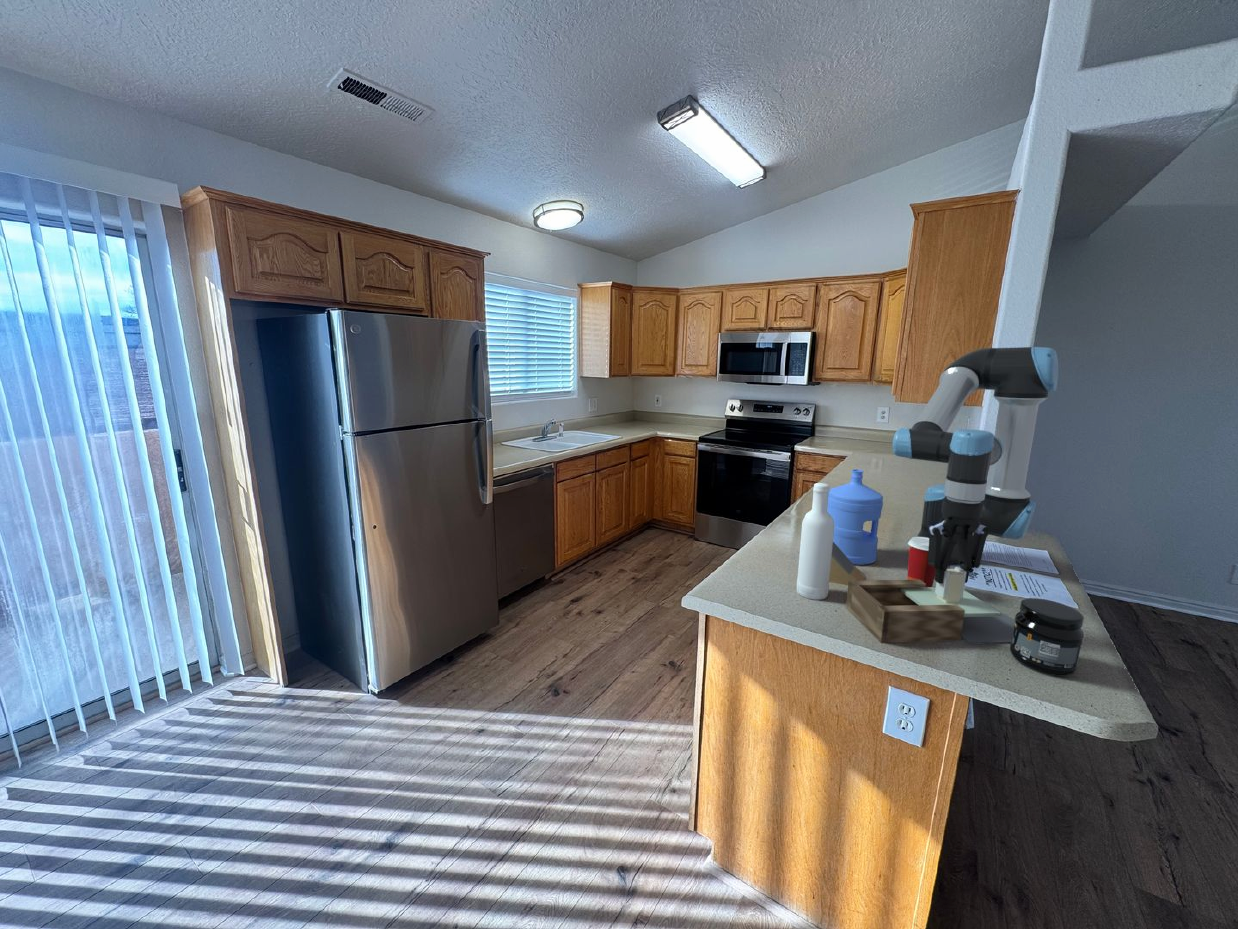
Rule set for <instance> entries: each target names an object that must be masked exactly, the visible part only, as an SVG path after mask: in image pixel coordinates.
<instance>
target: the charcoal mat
mask: <svg viewBox="0 0 1238 929" xmlns="http://www.w3.org/2000/svg"><path fill="white" fill-rule="evenodd" d="M983 602H984V603H986V604H988V605H989V606H991V607H992V608H994V609H996V610H997V611H999V612H1000V613H1001V616H991V617H964V619H963V625H962V631H961V638H960V640H963V641H964V642H966V644H969V645H976V644H977V645H982V644H984V645H986V644H991V645H992V644H1011V641H1012V636H1013V630H1014V625H1015V618H1014V619H1013V618H1012V617H1011V616H1009V615H1008V614H1006V613H1003V612H1002V611H1001V610H999V609H997V608H995V607H994V606H992V605H991V604H989V603H987V602H986V601H983Z"/></svg>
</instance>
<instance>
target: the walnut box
mask: <svg viewBox="0 0 1238 929" xmlns="http://www.w3.org/2000/svg"><path fill="white" fill-rule="evenodd" d="M925 586H926V584H925V583H924V582H922V581H921V580H907V579H881V580H880V579H872V580H871V579H869V580H868V579H867V580H860V581H849V582H848V585H847V591H846V592H847V594H846V602H845V609H846V610H847V611H848V612H849V613H850V614H851V615H852V616H853V617H854V618H855V619H856V620H857V621H858V622H859V623H860V624H861V625H862V626H863V627H865V629H866V630H867V631H869V633H870V634H872V635H873V637H874V638H876V640H877V641H878V642H880V643H921V642H924V643H925V642H960V641H961V631H962V625H963V619H964V613H965V610H964V609H963V608H961V607H960V606H958V605H918V604H917V603H915V602H914V601H913V600H911V599H910V598H909V597H907V596H906V595H905V594H904V593H902V592H901V591H900V588H912V587H925Z"/></svg>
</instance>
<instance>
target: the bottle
mask: <svg viewBox="0 0 1238 929" xmlns="http://www.w3.org/2000/svg"><path fill="white" fill-rule="evenodd" d="M830 489H831V488H830V485H829V484H828V483H825V482H816V483H814V484H813V489H812V490H813V495H812V504H811V505H812V506H811V510H809V511H808V512H806V513H805V516H804V517H803V519H802V522H801V533H800V543H799V557H798V570H797V579H796V592H797V594H798V595H799V596H801V597H803V598H806V599H808V600H809V599H810V600H814V601H819V600H825V599H826V598H828V595H829V591H830V590H829V589H830V582H829V576H830V566H831V556H832V546H833V536H834V521H833V517H832V516H831V515H830V514H829V513H828V512H827V506H828V495H829V491H830Z"/></svg>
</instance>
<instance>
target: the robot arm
mask: <svg viewBox="0 0 1238 929" xmlns="http://www.w3.org/2000/svg"><path fill="white" fill-rule="evenodd" d="M938 379H939V380H938V383H939V385H938V387H937V388H936V390H935V391H934V393H933V394H932V396H931V397H930V399H929V401H928V402H927V404H926V405H925V407H924V408H923V410H922V412H921V413H920V414H919V416H918V417H917V420H916V421H915V422H914V424H913V425H912V427H911V428H909V427H907V428H905V427H904V428H902V427H901V428H898V429H897V430H896V431H895V433H894V436H893V439H892V452H893V454H894V455H895V456H897V457H901V458H904V459H905V458H907V459H909V460H919V461H928V462H938V463H944V464H947V470H946V477H945V483H944V484H935V485H931V486H928V488H927V489H926V492H925V496H924V497H925V498H924V499H923V509H922V519H921V524H920V526H921V527H920V530H919V532H918V534H917V536H916V537H926V538H929V550H928V564H929V565H931V566H932V567H934V568H936V571H935V577H934V582H936V583H935V584H936V585H935V587H936V590H935V593H936V594H938V595H939V596H940V597H942V598H946V595H947V588H948V581H949V575H950V572H949V571H948V570H947V569H949V568H948V567H949V566H950V565H951V566H955V567H954V569H955V570H957V571H958V572H960V573H962V574H964V578H963V584H962V591H961V597H960V598H963V592H964V590H965V585H966V584H967V583H968V581H969V575H970V573H973V572H974V571H975V569H979V567H980V565H981V562H982V557H983V553H984V550H985V549H984V548H985V544H986V540H987V538H988V536H989V535H990V536H994V537H998V538H1000V539H1009V540H1021V539H1022V538H1023V537H1024V536H1025V535H1026V533H1027V531H1028V528H1029V527H1030V524H1031V522H1032V519H1033V516H1034V513H1035V512H1036V507H1037V503H1036V502H1034V500H1031V493H1030V492H1029V491H1028V490H1027V489H1026V482H1027V476H1028V471H1029V465H1030V460H1031V454H1032V453H1031V452H1032V446H1033V441H1034V436H1035V430H1036V424H1037V418H1038V412H1039V406H1040V404H1041V403H1043V402H1044V401H1045V400H1047V399H1048V397H1049V393H1053V392H1056V390H1058V389H1057V388H1058V383H1059V359H1058V354H1057V351H1056V350H1055V349H1054V348H1052V347H1046V346H1045V347H1041V346H1029V347H1028V346H1024V347H1023V346H1022V347H1019V346H1018V347H985V348H981V349H980V348H979V349H975V350H973V351H970V352H968V353H966V354H964V355H962V356H960V357H958V358H957V359H955V360H954V361H953V362H951V363H950V364H949V365H947V367H946V368H945V369H944V370H943V371H942V373H941V375H940V377H939V378H938ZM977 390H986V391H987V390H988V391H989V390H991V391H993V392H994V393H993V398H994V399H995V400H996V401H997V402H998V410H997V416H996V423H995V428H994V429H995V431H994V433H992V432H991V431H989V430H981V429H957V430H955V431H954V432H949V431H948V430H949V429H950V427H951V426H952V423H953V422H954V420H956V417H957V415H958V414H959V413H960V411H961V409H962V407H963V405H964V403H965V402H966V400H967V399H968V397H969V396H970V395H972V394H974V393H975V392H976V391H977Z"/></svg>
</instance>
